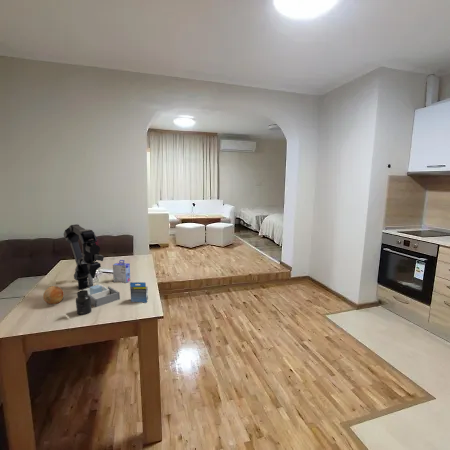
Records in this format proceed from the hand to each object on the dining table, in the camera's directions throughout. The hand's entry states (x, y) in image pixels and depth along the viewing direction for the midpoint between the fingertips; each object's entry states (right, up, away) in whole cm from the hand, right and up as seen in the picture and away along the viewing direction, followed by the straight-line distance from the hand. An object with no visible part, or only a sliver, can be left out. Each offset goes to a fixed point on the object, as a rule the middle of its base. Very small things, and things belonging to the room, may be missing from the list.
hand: (90, 276), depth 168 cm
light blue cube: (+5, -10, -3) cm, 12 cm away
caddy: (+4, -11, -2) cm, 12 cm away
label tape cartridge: (+33, -13, -9) cm, 36 cm away
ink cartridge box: (+12, -7, +21) cm, 25 cm away
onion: (-14, -13, -12) cm, 23 cm away
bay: (+11, -12, -9) cm, 19 cm away
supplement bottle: (+8, -15, -23) cm, 29 cm away
